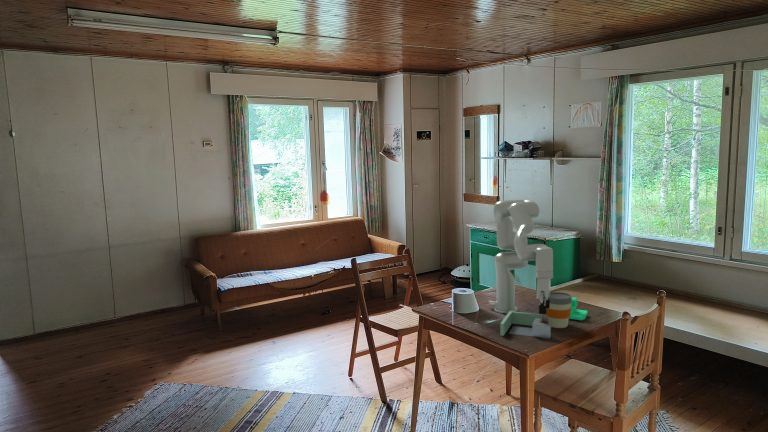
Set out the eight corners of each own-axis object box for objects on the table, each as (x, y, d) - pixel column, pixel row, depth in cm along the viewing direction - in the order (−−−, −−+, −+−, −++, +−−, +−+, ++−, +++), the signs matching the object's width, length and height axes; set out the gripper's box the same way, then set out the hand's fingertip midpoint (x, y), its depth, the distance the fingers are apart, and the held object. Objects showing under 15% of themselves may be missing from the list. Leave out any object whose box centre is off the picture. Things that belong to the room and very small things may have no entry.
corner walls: (500, 335, 248) (500, 323, 247) (509, 322, 266) (509, 310, 265) (534, 340, 241) (534, 327, 241) (541, 326, 259) (541, 314, 259)
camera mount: (581, 322, 263) (582, 302, 262) (566, 320, 268) (566, 300, 266) (588, 315, 273) (588, 296, 272) (572, 313, 278) (573, 294, 276)
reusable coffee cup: (577, 327, 256) (577, 297, 254) (554, 330, 252) (554, 300, 250) (561, 319, 268) (561, 290, 266) (539, 322, 264) (539, 293, 262)
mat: (508, 333, 250) (508, 333, 250) (513, 326, 260) (513, 325, 260) (533, 337, 245) (533, 336, 245) (537, 329, 255) (537, 328, 255)
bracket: (531, 335, 246) (532, 323, 245) (534, 330, 253) (535, 317, 253) (549, 338, 242) (550, 326, 242) (552, 332, 250) (553, 320, 249)
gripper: (538, 269, 250) (539, 305, 252) (532, 277, 235) (532, 315, 236) (555, 270, 247) (555, 306, 249) (550, 278, 231) (550, 317, 233)
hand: (544, 310), depth 243 cm, fingers open, 9 cm apart
